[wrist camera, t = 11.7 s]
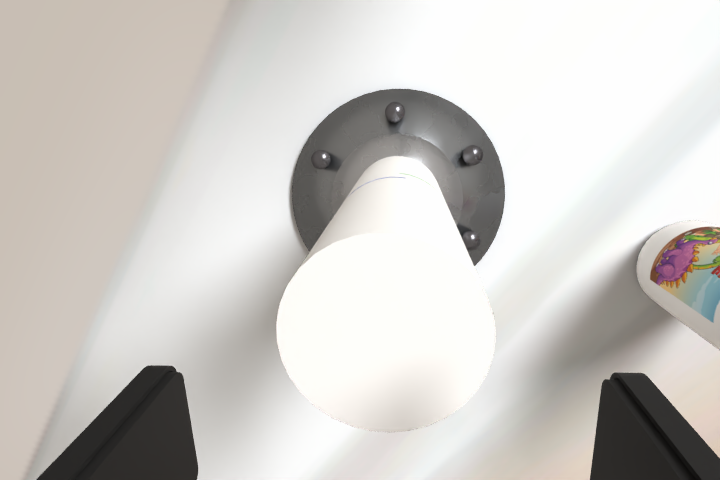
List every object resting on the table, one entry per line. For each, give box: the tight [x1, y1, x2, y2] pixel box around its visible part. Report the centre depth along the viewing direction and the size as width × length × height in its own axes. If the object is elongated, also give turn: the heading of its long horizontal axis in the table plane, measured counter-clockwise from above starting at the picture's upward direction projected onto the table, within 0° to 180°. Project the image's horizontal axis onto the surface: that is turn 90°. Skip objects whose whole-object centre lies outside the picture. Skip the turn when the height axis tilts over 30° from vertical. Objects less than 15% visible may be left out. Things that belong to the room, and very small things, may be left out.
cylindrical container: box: [276, 156, 496, 432], centre depth 27 cm, size 7×7×25 cm
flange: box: [292, 89, 505, 266], centre depth 40 cm, size 18×18×1 cm
